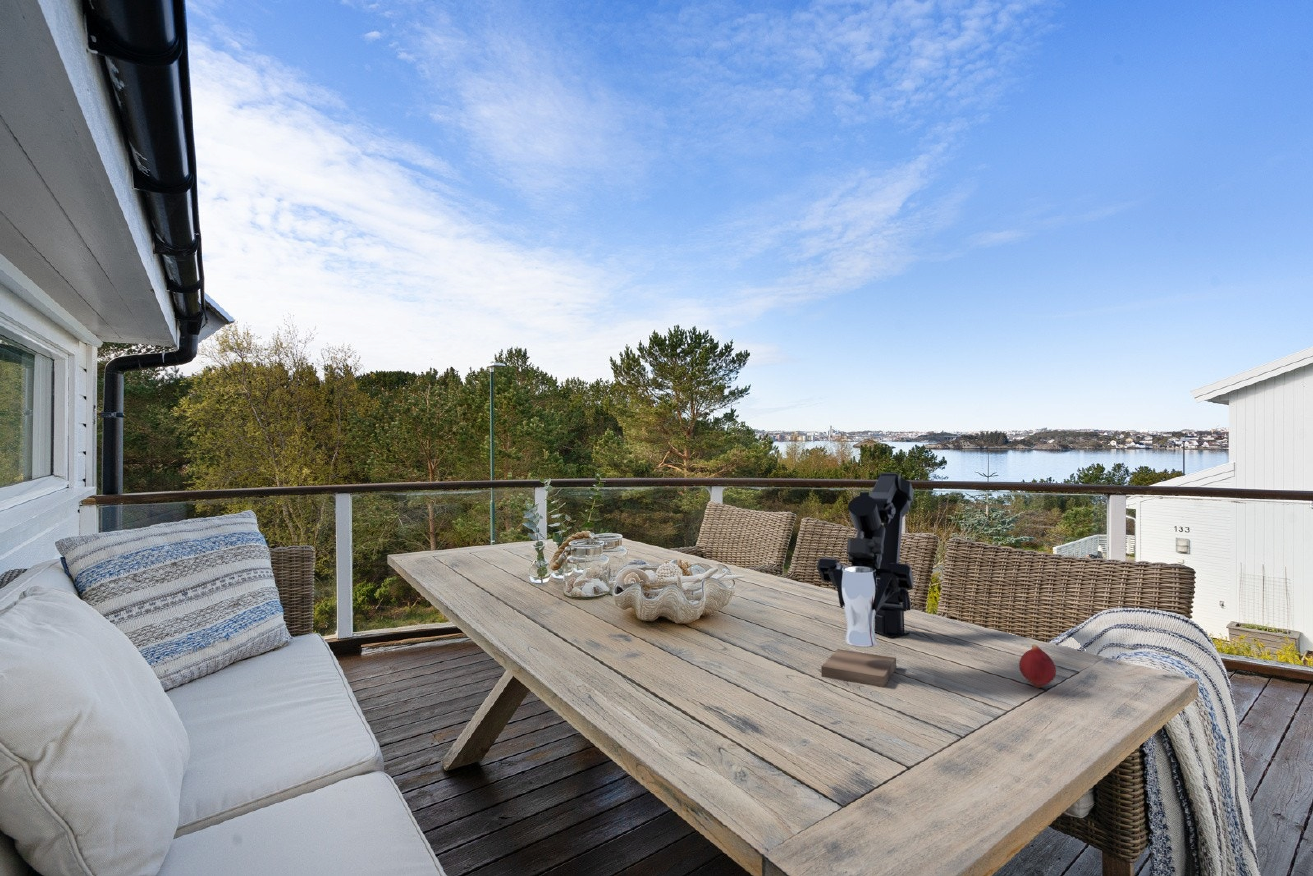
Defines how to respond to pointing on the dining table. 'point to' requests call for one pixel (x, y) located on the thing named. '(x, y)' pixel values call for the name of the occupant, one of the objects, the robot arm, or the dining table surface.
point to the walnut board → (859, 667)
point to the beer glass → (859, 604)
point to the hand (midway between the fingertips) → (858, 608)
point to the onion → (1037, 667)
